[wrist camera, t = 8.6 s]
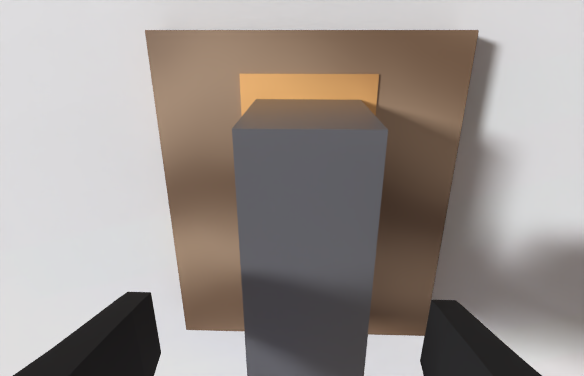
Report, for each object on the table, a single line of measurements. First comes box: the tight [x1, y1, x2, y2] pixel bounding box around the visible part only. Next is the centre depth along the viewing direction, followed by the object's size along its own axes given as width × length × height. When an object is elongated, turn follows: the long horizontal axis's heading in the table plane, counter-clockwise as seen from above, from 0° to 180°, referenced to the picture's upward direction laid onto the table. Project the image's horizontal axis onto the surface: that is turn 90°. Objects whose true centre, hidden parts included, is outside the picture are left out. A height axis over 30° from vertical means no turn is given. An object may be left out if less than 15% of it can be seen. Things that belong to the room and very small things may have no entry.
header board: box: [145, 30, 479, 336], centre depth 15 cm, size 14×12×5 cm
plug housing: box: [232, 99, 388, 376], centre depth 13 cm, size 9×4×5 cm, turn 0°
